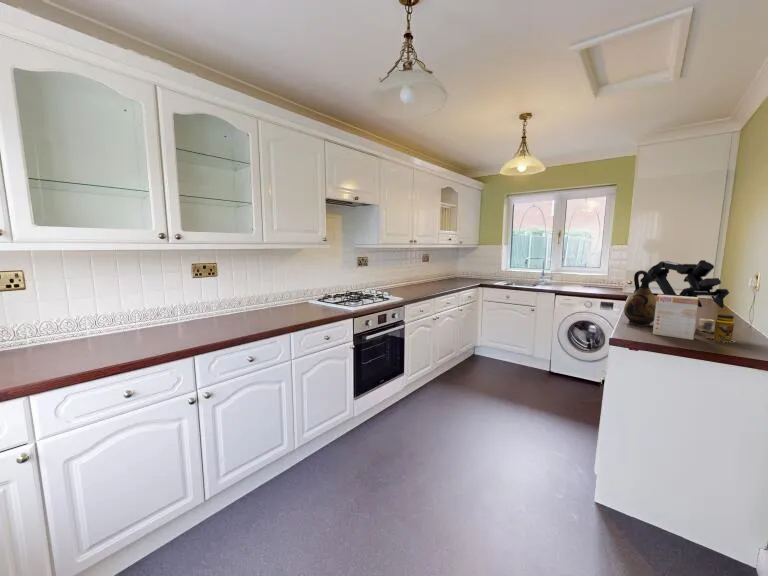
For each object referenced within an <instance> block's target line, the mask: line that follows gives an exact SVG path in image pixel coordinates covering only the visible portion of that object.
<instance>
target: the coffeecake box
mask: <svg viewBox="0 0 768 576" xmlns="http://www.w3.org/2000/svg"><path fill="white" fill-rule="evenodd" d="M655 299H656V308H655V317H654V321H653V326H652V327H653V328H652V335H655V336H657V335H658V336H664V337H671V338H677V339H683V340H692V341H693V340H694V338H695V333H696V330H695V324H696V325H697V323H696V320H697V316H698V308H699V306H698V299H699V296H697V297H686V296H679V295H677V296H673V295H664V294H657V295H656V298H655ZM694 332H695V333H694Z"/></svg>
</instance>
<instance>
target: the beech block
mask: <svg viewBox="0 0 768 576" xmlns="http://www.w3.org/2000/svg"><path fill="white" fill-rule="evenodd" d="M715 322H716V320H714V319H711V318H699V319H698V327H697V330H698V331H699V330H700V331H699V332H702V331H706V332H705V333H711V332H714V329H715Z"/></svg>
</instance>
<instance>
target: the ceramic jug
mask: <svg viewBox="0 0 768 576" xmlns="http://www.w3.org/2000/svg"><path fill="white" fill-rule="evenodd" d="M640 275H643V277H642V278H640V280H639V276H640ZM633 280H634V281H633V282H634V288H635V290H634V291H633V293H632V294H631V296H629V297H628V299H627V301H626V302H625V304H624V308H623V311H624V312H623V313H624V316H625V317H626V318H627V319H628V323H629V324H631V325H634V326H638V327H639V326H640V327H649V326H650V324H652V323H654V317H655V308H656V299H657V298H656V297H655V294H654V293H653V291H652V290H651V288H650V283H653V282H655V281H658V278H657V276H656V275H651V276H650V274H648V271H646V270H643V269H641V270H638V271H636V272H635V273H634V275H633ZM640 283H641V284H640Z"/></svg>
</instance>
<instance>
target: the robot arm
mask: <svg viewBox="0 0 768 576" xmlns="http://www.w3.org/2000/svg"><path fill="white" fill-rule="evenodd" d="M713 269H715V267H714V264H712V263H710V262H708V261H707V260H704V259H701V260H699V261H698V263H697V264H696V263H678V262H672V261H668V260H664V261H663V260H662V261H659V262H658V263H657V264H655V265H653V266H651V268H649V270H648V271H647V273H648V274H650V276H651V275H656V276H657V278H658V281H654V282H655V283H657V285H658V286H659V289H660V290H661V292H662V295H673V296H686V297H699V296H700V297H711V299H713V300H712V301H713V302H714V303H715V304H716V306H718V307H719V308H721V309H723V308H724V307H725V306H724V298H726V297H727V296H728V295H729V294H730V291H729V290H728V289H727V288H716V289H715V290H714V291H711V290H713V289H714V287H715V286H719V285H720V284H722V281H721V280H720V278H719V277H711V278H709V277H707V278H704V277H706V276H708V275H709V274H710V273H711V272H712V270H713ZM670 270H671V271H675V272H676V273H678V274H679V275H684V276H685V275H686V276H685V277H684V279H683V283H688V285H689V287H684V288H683V289H682V290H681V292H680V293H679V295H677V293H676V291H675V290H674V288H673V287H672V285H671V283H670V281H669V280H668V278H667V277H668V274H669V273H670ZM702 307H703V305H702V303H701V300H700V299H699V298H698V308H702Z"/></svg>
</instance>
